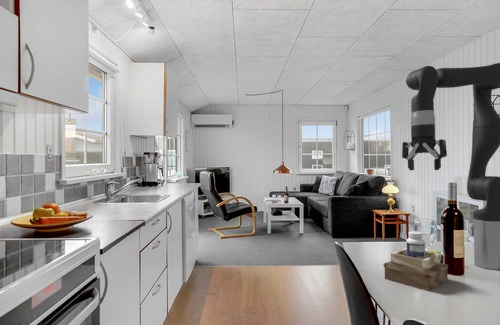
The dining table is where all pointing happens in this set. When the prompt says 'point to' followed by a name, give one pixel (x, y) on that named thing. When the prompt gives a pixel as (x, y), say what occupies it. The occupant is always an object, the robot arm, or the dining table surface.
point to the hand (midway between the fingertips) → (423, 170)
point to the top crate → (415, 260)
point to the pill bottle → (415, 245)
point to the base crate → (417, 276)
